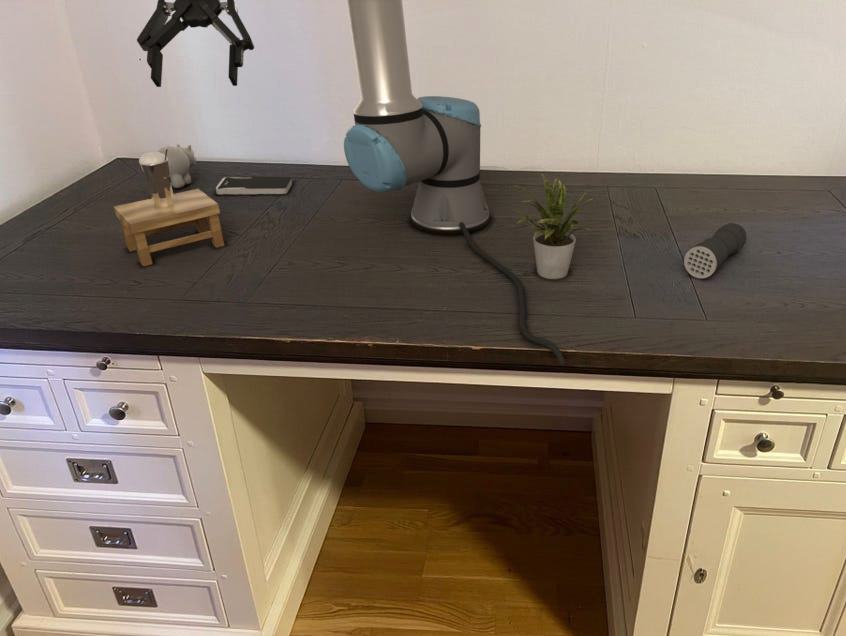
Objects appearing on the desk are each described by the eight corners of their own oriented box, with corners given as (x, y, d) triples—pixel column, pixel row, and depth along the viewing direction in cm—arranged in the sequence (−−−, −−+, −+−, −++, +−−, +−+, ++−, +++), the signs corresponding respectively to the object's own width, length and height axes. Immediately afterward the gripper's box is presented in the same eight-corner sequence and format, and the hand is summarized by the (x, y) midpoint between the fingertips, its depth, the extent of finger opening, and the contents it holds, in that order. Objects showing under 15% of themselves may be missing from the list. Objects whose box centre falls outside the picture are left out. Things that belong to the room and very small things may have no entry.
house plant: (493, 259, 126) (494, 167, 117) (564, 247, 130) (570, 158, 121) (526, 294, 115) (529, 196, 106) (602, 280, 119) (612, 185, 110)
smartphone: (286, 188, 153) (214, 188, 152) (286, 194, 153) (215, 195, 153) (292, 176, 159) (223, 177, 158) (292, 182, 160) (224, 183, 159)
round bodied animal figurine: (212, 174, 164) (204, 137, 159) (181, 192, 154) (172, 152, 150) (185, 172, 166) (176, 134, 161) (152, 189, 156) (142, 150, 151)
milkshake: (173, 210, 123) (159, 153, 118) (145, 208, 124) (130, 151, 119) (187, 201, 127) (174, 145, 122) (160, 199, 128) (146, 143, 123)
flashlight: (717, 244, 131) (722, 216, 129) (745, 252, 129) (752, 223, 126) (681, 273, 121) (687, 243, 118) (712, 282, 118) (718, 252, 116)
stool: (226, 245, 131) (218, 204, 126) (142, 267, 123) (129, 223, 118) (207, 229, 137) (198, 188, 133) (125, 248, 129) (113, 206, 125)
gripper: (272, -7, 137) (269, 93, 133) (139, -5, 136) (132, 95, 132) (262, -36, 130) (259, 68, 125) (121, -35, 129) (113, 70, 124)
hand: (194, 82), depth 129 cm, fingers open, 13 cm apart
